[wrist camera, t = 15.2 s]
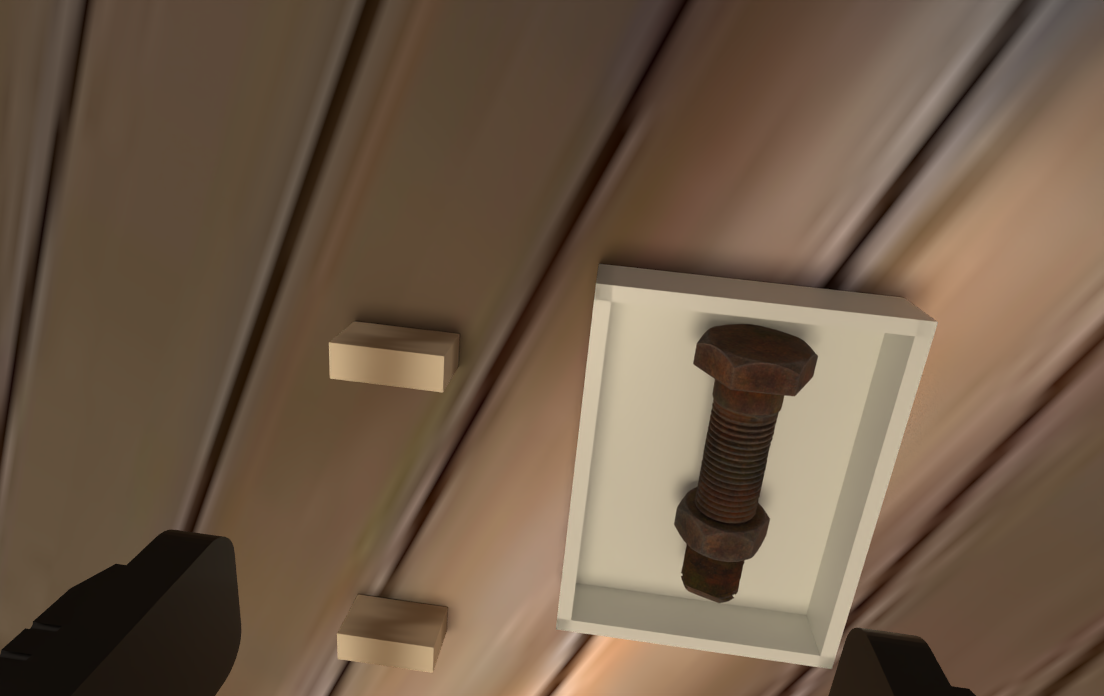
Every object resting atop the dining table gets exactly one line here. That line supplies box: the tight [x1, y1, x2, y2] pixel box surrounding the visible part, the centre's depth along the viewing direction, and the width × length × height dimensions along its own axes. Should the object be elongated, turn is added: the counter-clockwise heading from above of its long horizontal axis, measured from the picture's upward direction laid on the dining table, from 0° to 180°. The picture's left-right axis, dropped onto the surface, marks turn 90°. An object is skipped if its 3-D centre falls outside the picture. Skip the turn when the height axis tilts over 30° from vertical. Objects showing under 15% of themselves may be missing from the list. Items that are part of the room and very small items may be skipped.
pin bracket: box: [329, 321, 460, 673], centre depth 40 cm, size 6×21×4 cm, turn 175°
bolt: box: [674, 324, 818, 603], centre depth 36 cm, size 6×5×15 cm
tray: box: [556, 264, 938, 669], centre depth 37 cm, size 16×21×4 cm
